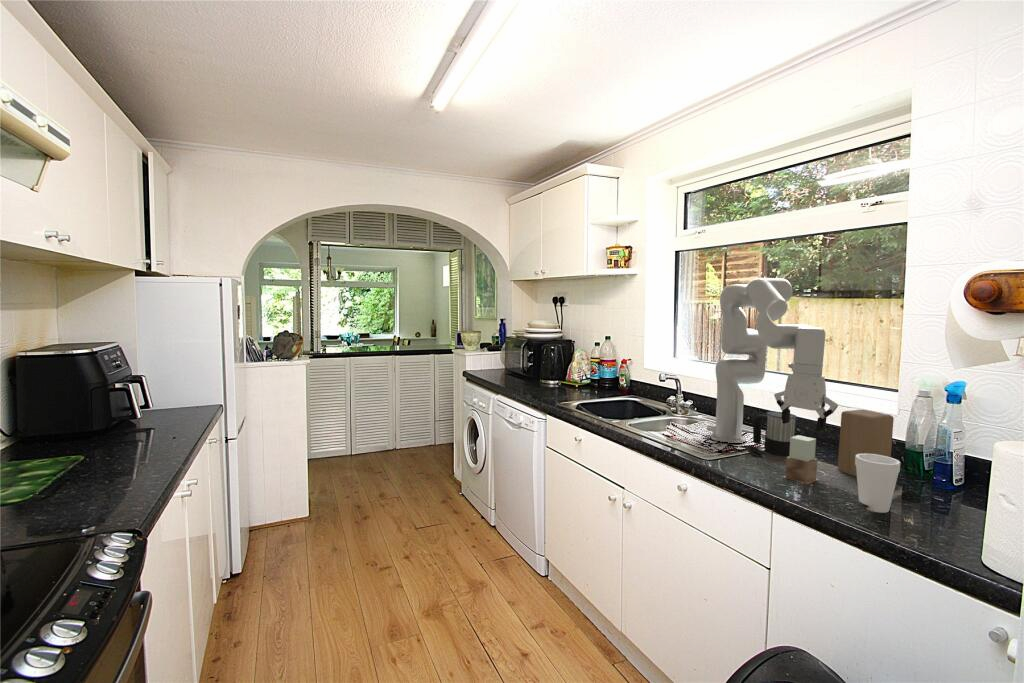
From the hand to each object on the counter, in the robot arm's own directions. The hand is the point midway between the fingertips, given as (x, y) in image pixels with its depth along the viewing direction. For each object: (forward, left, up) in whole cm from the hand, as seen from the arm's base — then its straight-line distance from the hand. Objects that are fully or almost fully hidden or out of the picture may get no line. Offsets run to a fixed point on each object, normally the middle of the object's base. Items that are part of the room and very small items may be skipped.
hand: (802, 426), depth 151 cm
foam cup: (+21, -4, -17) cm, 27 cm away
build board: (-1, +2, -17) cm, 17 cm away
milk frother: (-17, +17, -17) cm, 30 cm away
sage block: (+1, 0, -9) cm, 9 cm away
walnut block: (+1, 0, -15) cm, 15 cm away
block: (+10, +21, -17) cm, 28 cm away
